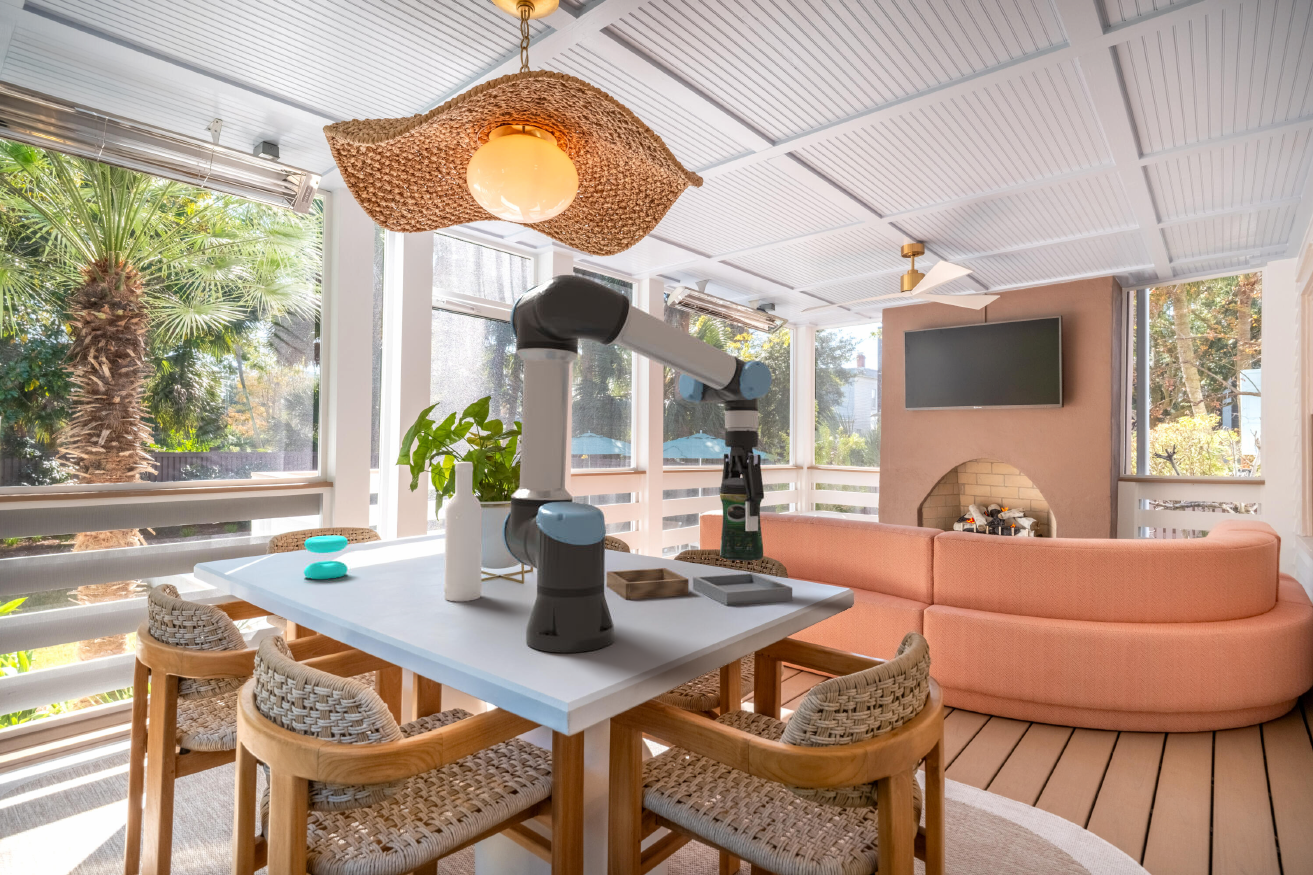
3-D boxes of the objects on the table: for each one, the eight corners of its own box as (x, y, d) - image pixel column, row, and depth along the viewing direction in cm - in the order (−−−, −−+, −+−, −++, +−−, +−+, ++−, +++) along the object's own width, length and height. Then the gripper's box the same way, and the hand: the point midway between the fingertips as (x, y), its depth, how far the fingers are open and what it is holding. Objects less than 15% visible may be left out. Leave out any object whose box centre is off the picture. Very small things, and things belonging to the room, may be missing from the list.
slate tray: (726, 605, 143) (726, 592, 143) (693, 588, 160) (693, 576, 160) (792, 600, 148) (792, 587, 148) (752, 584, 165) (753, 572, 165)
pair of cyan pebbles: (302, 536, 174) (345, 533, 179) (302, 575, 174) (344, 571, 179) (306, 541, 165) (350, 538, 171) (305, 581, 165) (350, 577, 171)
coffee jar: (766, 557, 156) (766, 477, 156) (758, 563, 149) (758, 479, 149) (726, 554, 160) (726, 476, 160) (716, 560, 152) (716, 478, 153)
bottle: (474, 592, 155) (476, 461, 155) (486, 598, 148) (487, 462, 148) (439, 596, 150) (440, 461, 151) (449, 603, 144) (451, 462, 144)
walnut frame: (625, 599, 148) (625, 583, 148) (606, 586, 162) (606, 571, 162) (688, 594, 153) (688, 579, 153) (664, 582, 167) (664, 567, 167)
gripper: (780, 429, 146) (780, 533, 145) (734, 431, 166) (734, 522, 166) (749, 428, 143) (749, 534, 143) (706, 430, 163) (706, 523, 163)
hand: (741, 528), depth 154 cm, fingers closed on coffee jar, 9 cm apart
